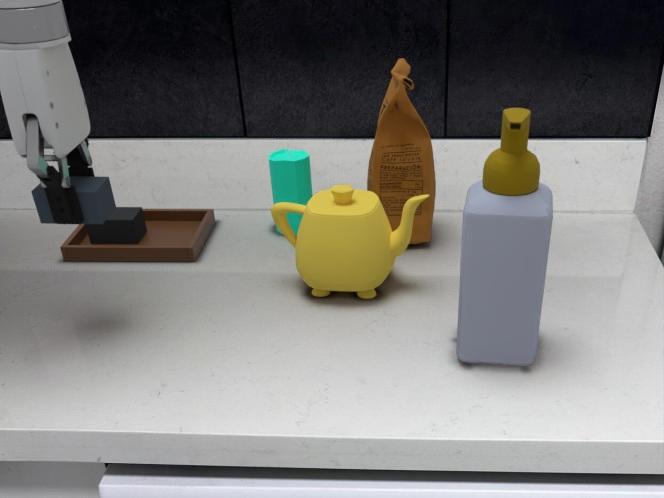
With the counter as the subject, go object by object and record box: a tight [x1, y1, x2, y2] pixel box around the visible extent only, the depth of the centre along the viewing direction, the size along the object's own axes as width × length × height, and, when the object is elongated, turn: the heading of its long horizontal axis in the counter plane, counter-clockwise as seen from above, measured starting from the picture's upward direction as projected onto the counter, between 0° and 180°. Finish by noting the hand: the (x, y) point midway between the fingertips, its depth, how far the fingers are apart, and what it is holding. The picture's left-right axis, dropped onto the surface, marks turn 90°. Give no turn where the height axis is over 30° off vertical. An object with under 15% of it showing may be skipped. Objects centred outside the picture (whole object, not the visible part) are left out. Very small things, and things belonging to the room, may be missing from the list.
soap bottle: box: [455, 107, 554, 367], centre depth 84 cm, size 9×9×25 cm
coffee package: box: [366, 58, 437, 245], centre depth 110 cm, size 10×12×22 cm
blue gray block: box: [30, 176, 117, 225], centre depth 88 cm, size 7×5×4 cm
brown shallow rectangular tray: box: [59, 208, 216, 263], centre depth 115 cm, size 19×15×2 cm
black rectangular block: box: [85, 206, 147, 244], centre depth 115 cm, size 7×5×4 cm
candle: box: [268, 142, 314, 237], centre depth 115 cm, size 6×6×12 cm
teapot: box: [270, 183, 429, 300], centre depth 101 cm, size 13×20×12 cm
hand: (78, 211), depth 89 cm, fingers closed on blue gray block, 5 cm apart
